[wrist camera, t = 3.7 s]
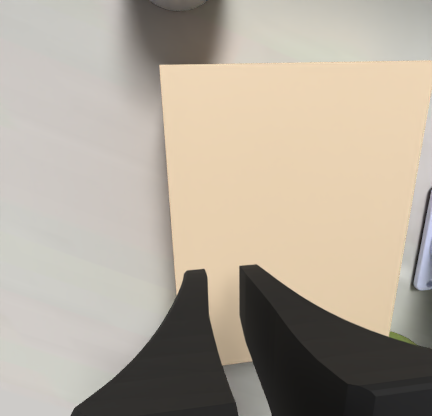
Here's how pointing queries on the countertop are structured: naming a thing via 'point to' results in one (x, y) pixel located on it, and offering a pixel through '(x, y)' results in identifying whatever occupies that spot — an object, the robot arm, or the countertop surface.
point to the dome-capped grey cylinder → (178, 4)
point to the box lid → (294, 181)
